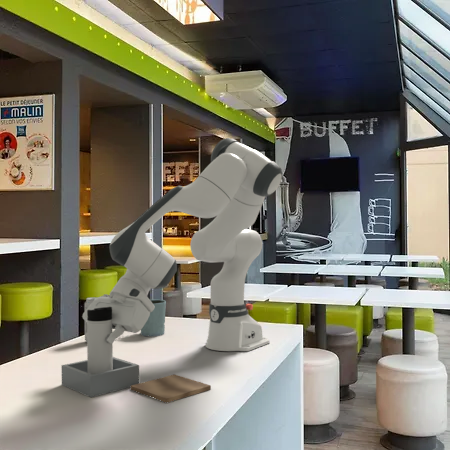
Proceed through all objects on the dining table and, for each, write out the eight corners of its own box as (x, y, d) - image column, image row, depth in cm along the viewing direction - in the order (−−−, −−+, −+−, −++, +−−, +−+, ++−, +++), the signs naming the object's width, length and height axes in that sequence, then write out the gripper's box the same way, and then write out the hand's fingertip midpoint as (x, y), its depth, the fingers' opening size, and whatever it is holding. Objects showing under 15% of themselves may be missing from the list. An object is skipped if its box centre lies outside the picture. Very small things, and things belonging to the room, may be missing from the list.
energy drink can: (105, 340, 192) (104, 297, 192) (99, 344, 186) (99, 299, 186) (88, 339, 193) (88, 297, 193) (82, 343, 187) (81, 299, 187)
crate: (108, 373, 151) (108, 355, 150) (139, 384, 141) (139, 365, 141) (61, 384, 141) (61, 365, 141) (90, 397, 131) (90, 376, 131)
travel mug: (101, 389, 136) (100, 309, 136) (82, 385, 140) (81, 306, 139) (118, 383, 142) (118, 305, 141) (100, 379, 145) (99, 303, 145)
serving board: (174, 378, 146) (174, 374, 146) (210, 389, 136) (210, 385, 136) (130, 389, 136) (130, 385, 136) (166, 403, 126) (166, 398, 126)
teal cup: (171, 333, 204) (171, 300, 204) (154, 338, 195) (153, 304, 195) (150, 330, 209) (150, 298, 209) (132, 334, 201) (132, 302, 200)
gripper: (95, 286, 152) (65, 327, 145) (147, 293, 140) (117, 338, 132) (108, 301, 156) (79, 341, 148) (159, 308, 143) (131, 353, 136)
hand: (98, 340), depth 140 cm, fingers closed on travel mug, 6 cm apart
